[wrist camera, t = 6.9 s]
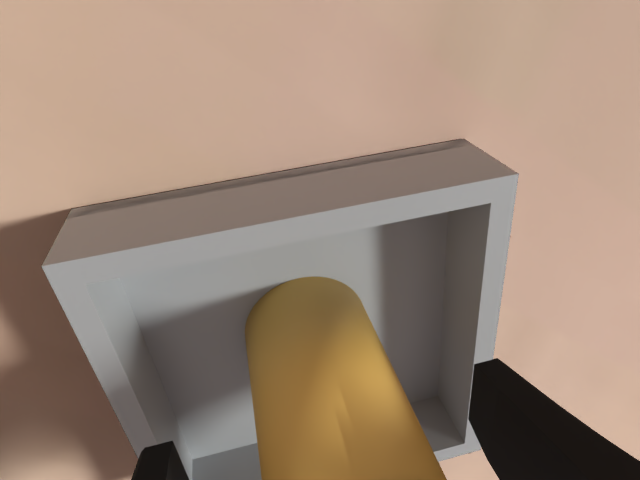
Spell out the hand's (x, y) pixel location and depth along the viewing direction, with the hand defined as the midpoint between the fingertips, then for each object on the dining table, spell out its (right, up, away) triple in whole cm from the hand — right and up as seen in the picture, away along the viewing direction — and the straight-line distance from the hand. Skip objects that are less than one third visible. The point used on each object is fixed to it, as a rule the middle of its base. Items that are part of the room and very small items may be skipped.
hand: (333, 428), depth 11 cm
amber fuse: (-1, +2, +3) cm, 3 cm away
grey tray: (-1, +2, +3) cm, 4 cm away
